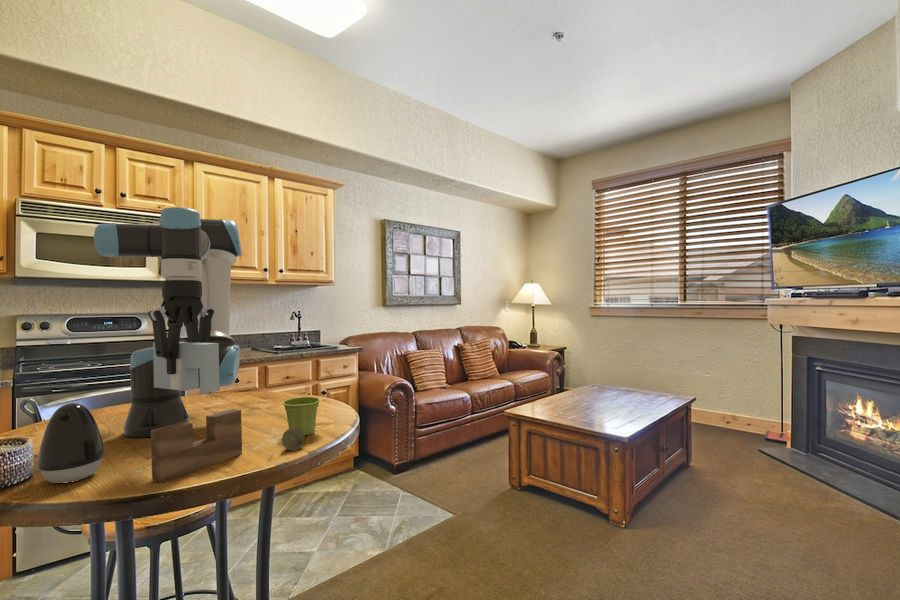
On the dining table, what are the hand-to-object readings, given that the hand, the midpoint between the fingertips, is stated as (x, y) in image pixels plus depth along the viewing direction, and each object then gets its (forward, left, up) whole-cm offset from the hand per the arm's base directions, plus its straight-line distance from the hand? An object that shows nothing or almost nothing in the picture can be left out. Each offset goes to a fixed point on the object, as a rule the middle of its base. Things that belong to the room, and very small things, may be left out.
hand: (184, 387), depth 97 cm
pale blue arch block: (0, 0, 0) cm, 0 cm away
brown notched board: (+5, 0, -16) cm, 17 cm away
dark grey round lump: (+15, +16, -17) cm, 27 cm away
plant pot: (+8, +26, -17) cm, 32 cm away
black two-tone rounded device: (-13, -15, -17) cm, 26 cm away
